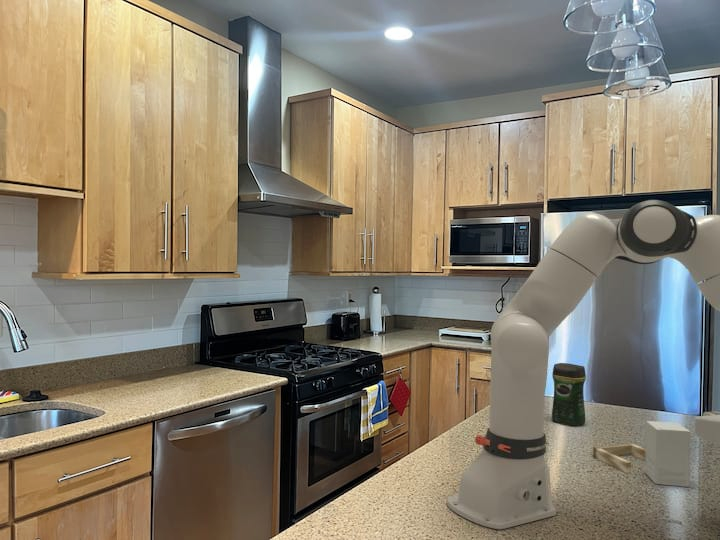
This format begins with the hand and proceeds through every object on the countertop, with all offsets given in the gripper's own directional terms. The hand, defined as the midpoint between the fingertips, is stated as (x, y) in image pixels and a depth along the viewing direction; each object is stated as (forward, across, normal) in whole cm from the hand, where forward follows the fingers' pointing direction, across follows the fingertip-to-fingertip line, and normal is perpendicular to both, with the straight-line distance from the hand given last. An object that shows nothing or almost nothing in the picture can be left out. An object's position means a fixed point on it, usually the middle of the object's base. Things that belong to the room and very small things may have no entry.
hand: (708, 415), depth 114 cm
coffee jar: (+55, -8, +18) cm, 58 cm away
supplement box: (+10, 0, +18) cm, 21 cm away
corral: (+21, 0, +18) cm, 27 cm away
